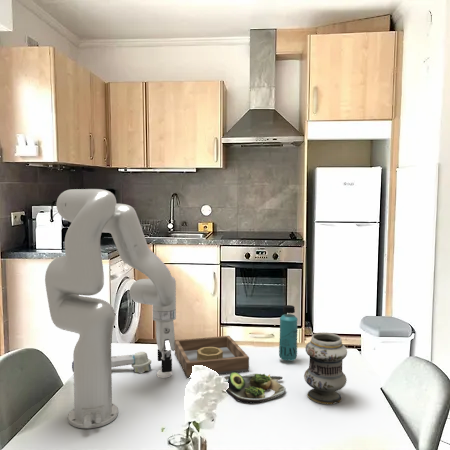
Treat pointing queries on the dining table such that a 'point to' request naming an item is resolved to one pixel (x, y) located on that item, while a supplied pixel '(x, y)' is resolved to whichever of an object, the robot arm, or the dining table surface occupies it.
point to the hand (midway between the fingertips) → (164, 365)
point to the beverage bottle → (288, 334)
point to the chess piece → (163, 374)
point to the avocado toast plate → (253, 387)
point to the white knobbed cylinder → (131, 362)
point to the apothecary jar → (325, 368)
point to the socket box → (211, 355)
